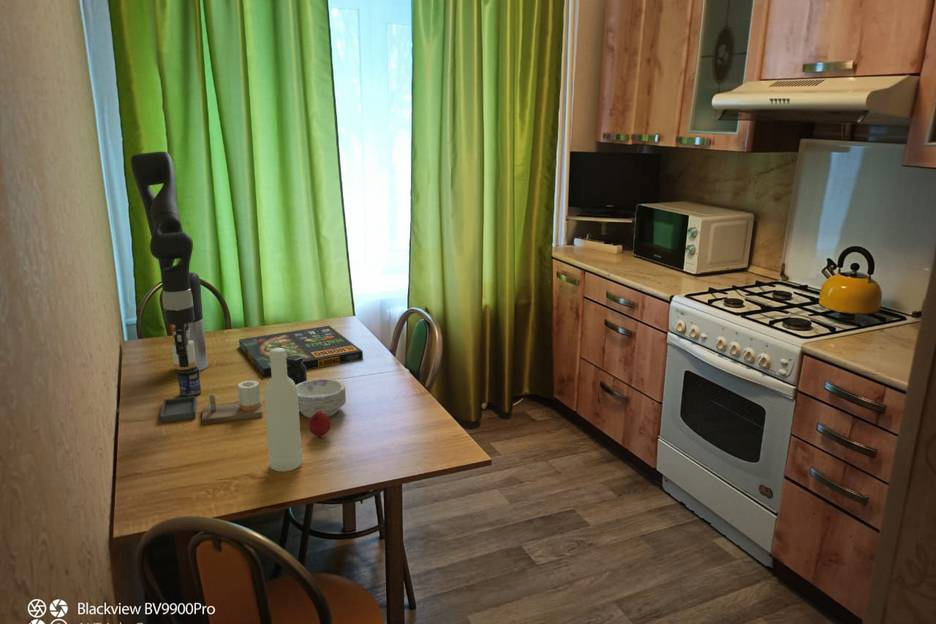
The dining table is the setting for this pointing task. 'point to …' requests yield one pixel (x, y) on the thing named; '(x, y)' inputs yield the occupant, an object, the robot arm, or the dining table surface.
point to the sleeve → (190, 355)
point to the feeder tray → (178, 409)
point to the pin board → (226, 412)
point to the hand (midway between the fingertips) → (185, 362)
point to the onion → (319, 424)
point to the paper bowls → (320, 396)
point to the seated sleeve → (249, 395)
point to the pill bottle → (189, 382)
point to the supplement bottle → (296, 369)
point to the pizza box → (302, 348)
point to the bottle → (282, 416)
